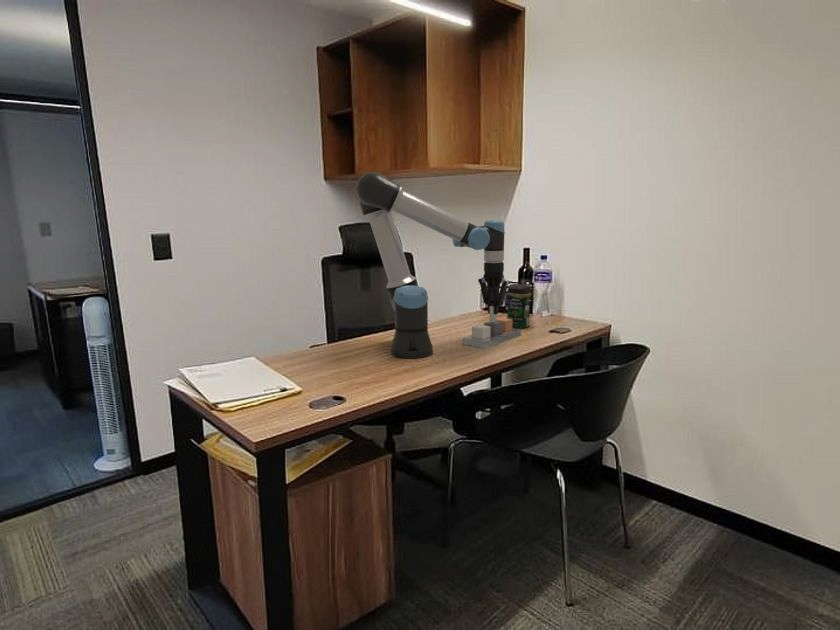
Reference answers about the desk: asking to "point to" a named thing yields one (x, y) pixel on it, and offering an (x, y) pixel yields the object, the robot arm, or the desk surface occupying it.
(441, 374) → the desk surface
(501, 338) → the panel
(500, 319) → the key terracotta
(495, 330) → the block
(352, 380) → the desk surface
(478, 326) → the key ivory
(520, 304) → the coffee jar
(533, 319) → the desk surface
